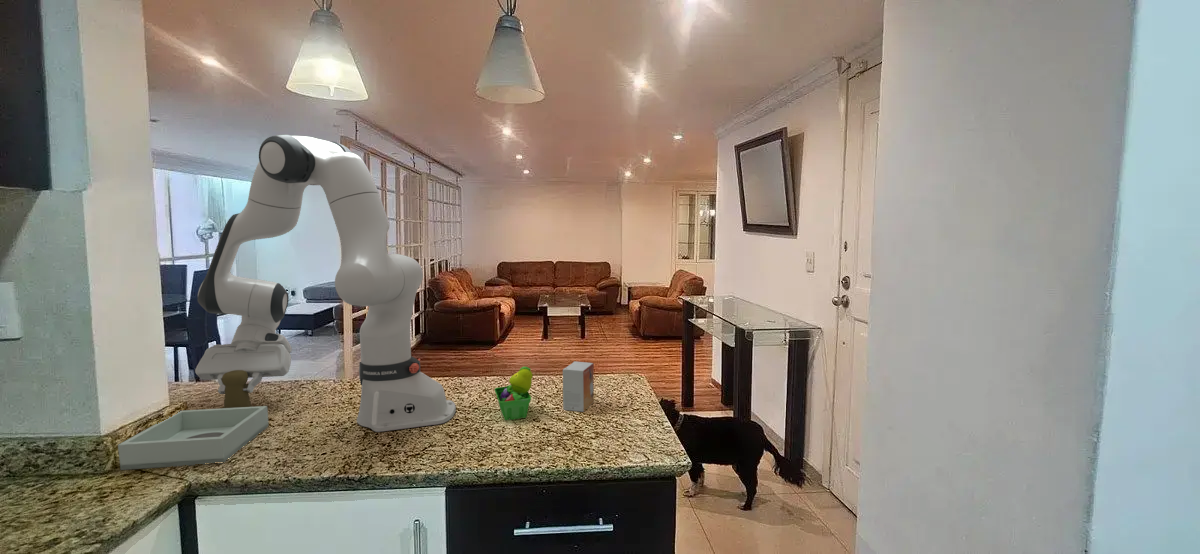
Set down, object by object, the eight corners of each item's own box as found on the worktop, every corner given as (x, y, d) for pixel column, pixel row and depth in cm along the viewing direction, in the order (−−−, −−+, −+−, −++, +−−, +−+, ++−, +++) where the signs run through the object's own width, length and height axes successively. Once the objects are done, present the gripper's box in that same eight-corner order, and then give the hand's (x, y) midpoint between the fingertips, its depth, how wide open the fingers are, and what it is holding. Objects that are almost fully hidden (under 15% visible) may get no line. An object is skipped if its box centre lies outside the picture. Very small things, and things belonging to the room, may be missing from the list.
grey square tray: (268, 427, 118) (267, 406, 118) (224, 463, 100) (222, 438, 100) (182, 432, 115) (180, 410, 115) (120, 470, 98) (117, 444, 97)
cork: (237, 420, 122) (233, 375, 121) (216, 418, 123) (212, 374, 122) (259, 411, 128) (255, 368, 127) (238, 409, 129) (235, 367, 128)
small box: (583, 412, 126) (583, 371, 125) (562, 410, 128) (562, 369, 127) (594, 402, 134) (594, 362, 133) (574, 399, 135) (574, 360, 134)
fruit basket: (494, 407, 130) (493, 363, 129) (528, 403, 133) (528, 360, 132) (499, 423, 120) (498, 376, 119) (537, 418, 122) (536, 372, 121)
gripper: (202, 338, 129) (180, 388, 120) (290, 335, 132) (274, 384, 123) (214, 351, 134) (194, 400, 125) (298, 348, 137) (284, 395, 128)
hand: (234, 392), depth 124 cm, fingers closed on cork, 4 cm apart
